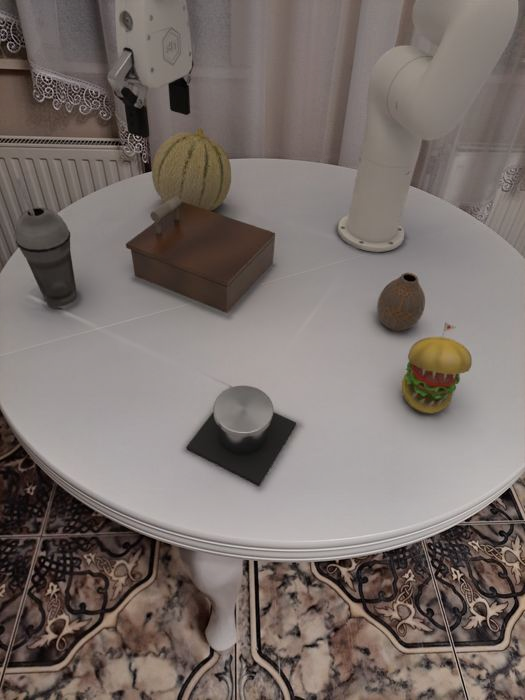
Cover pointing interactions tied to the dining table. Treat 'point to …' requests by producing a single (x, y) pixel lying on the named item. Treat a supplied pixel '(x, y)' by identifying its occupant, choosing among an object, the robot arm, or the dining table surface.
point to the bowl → (242, 419)
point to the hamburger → (434, 372)
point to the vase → (401, 303)
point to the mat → (243, 465)
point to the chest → (203, 279)
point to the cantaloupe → (192, 170)
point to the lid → (200, 241)
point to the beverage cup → (47, 252)
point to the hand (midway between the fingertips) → (160, 123)
